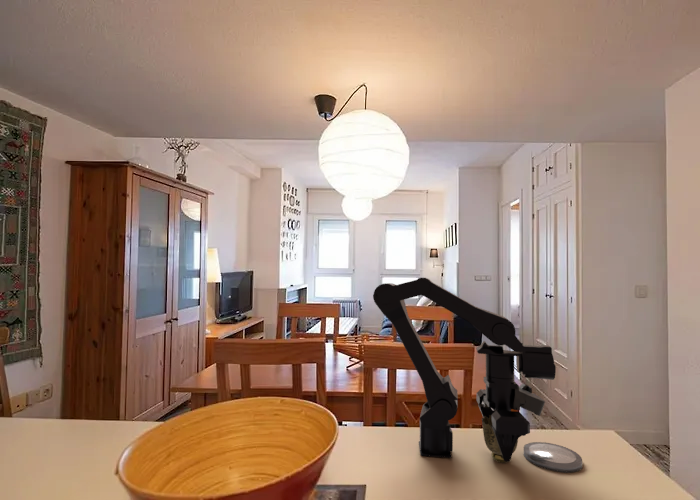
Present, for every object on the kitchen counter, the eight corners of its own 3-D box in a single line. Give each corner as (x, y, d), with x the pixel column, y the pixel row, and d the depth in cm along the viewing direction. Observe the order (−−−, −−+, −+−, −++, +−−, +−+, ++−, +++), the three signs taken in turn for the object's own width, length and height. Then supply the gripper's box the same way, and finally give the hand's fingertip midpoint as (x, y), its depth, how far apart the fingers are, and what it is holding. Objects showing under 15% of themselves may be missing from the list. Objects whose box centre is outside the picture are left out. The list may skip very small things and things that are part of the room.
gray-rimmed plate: (534, 470, 76) (534, 463, 76) (516, 445, 87) (516, 440, 87) (593, 474, 74) (592, 467, 74) (567, 449, 85) (567, 443, 85)
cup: (523, 470, 75) (523, 429, 76) (485, 466, 77) (484, 425, 77) (515, 453, 83) (515, 416, 83) (480, 450, 84) (479, 413, 85)
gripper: (558, 390, 71) (560, 477, 70) (524, 366, 89) (525, 435, 88) (496, 387, 72) (497, 472, 71) (475, 364, 91) (476, 431, 90)
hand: (500, 450), depth 80 cm, fingers open, 9 cm apart
